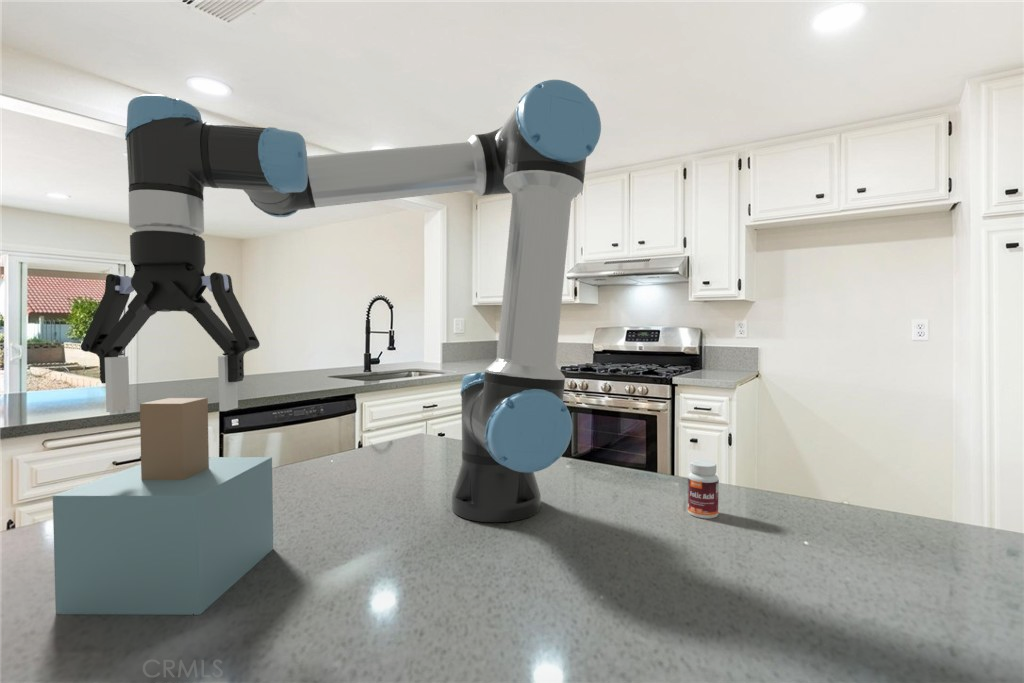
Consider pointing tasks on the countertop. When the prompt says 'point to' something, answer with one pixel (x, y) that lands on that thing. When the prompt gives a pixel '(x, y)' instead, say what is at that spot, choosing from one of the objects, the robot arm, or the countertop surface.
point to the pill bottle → (703, 489)
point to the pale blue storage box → (163, 523)
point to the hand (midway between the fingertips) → (173, 410)
